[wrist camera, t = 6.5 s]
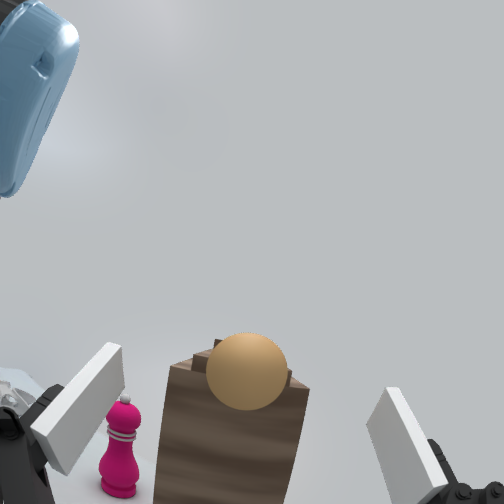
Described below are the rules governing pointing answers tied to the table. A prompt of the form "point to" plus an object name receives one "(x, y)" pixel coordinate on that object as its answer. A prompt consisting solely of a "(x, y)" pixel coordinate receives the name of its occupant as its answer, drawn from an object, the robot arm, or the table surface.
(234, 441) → the stand
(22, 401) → the sculpture
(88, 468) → the table surface
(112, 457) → the pepper mill
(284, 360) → the pin
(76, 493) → the table surface
